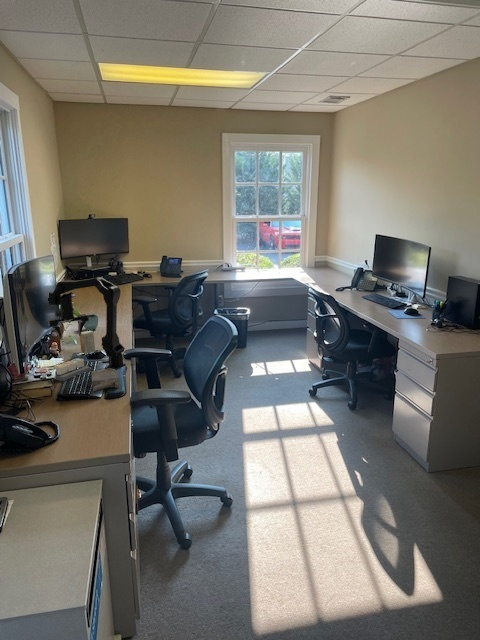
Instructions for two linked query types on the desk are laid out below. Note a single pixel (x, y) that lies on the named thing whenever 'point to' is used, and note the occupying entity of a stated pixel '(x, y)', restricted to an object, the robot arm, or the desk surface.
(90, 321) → the flower pot
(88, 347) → the skincare box
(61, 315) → the robot arm
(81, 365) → the key
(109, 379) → the geological specimen
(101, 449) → the desk surface
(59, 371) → the key
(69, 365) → the key
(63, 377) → the keypad base
